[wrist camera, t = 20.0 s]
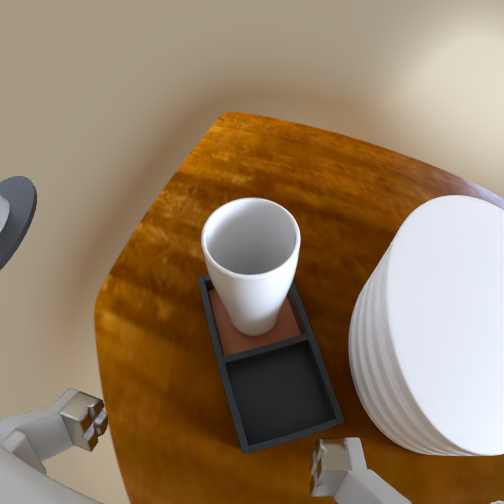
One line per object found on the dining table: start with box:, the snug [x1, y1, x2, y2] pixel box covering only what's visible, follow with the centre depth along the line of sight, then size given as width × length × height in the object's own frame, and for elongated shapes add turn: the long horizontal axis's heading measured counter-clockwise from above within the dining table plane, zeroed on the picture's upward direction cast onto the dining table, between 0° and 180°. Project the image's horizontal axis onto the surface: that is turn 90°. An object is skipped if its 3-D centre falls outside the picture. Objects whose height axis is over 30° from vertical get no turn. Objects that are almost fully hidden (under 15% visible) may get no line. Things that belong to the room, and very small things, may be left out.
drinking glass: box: [201, 198, 300, 336], centre depth 26 cm, size 7×7×15 cm
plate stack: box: [348, 195, 504, 456], centre depth 25 cm, size 28×28×12 cm
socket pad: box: [198, 275, 345, 454], centre depth 30 cm, size 10×19×3 cm, turn 16°
